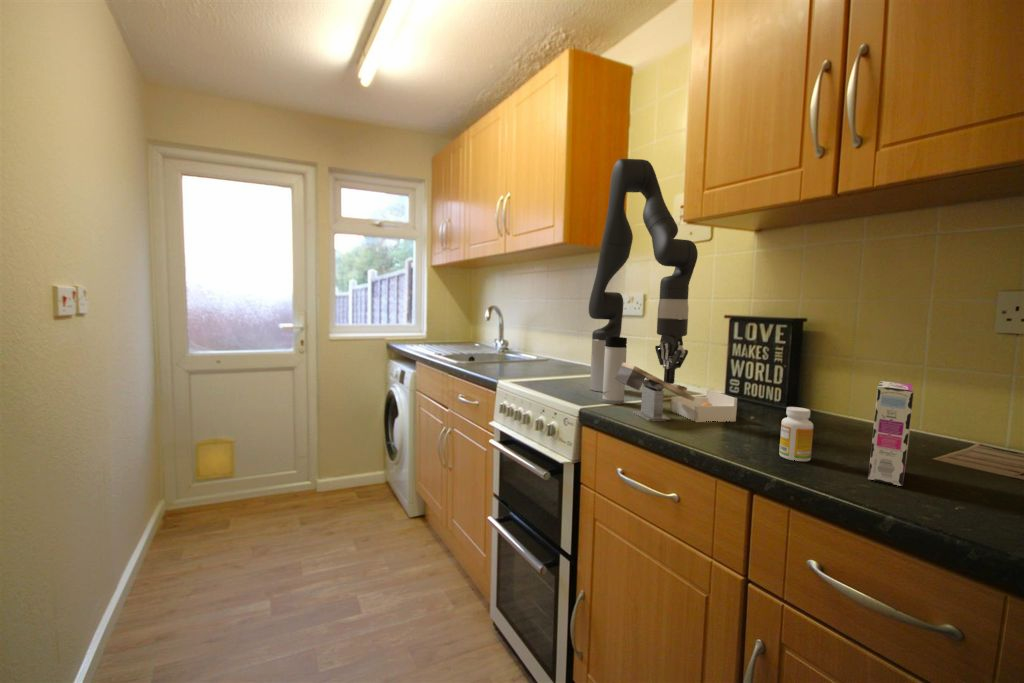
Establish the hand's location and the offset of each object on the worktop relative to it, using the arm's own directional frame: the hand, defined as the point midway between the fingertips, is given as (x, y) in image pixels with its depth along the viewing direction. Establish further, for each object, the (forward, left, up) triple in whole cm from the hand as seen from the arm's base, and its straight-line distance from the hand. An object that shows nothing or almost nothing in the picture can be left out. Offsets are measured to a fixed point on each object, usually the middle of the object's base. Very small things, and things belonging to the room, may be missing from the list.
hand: (669, 383), depth 124 cm
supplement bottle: (+34, +8, -9) cm, 36 cm away
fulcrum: (0, -5, -9) cm, 10 cm away
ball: (0, +11, -7) cm, 13 cm away
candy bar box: (+45, +17, -9) cm, 49 cm away
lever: (0, -5, -4) cm, 6 cm away
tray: (0, +10, -9) cm, 13 cm away
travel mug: (-18, -8, -9) cm, 22 cm away
